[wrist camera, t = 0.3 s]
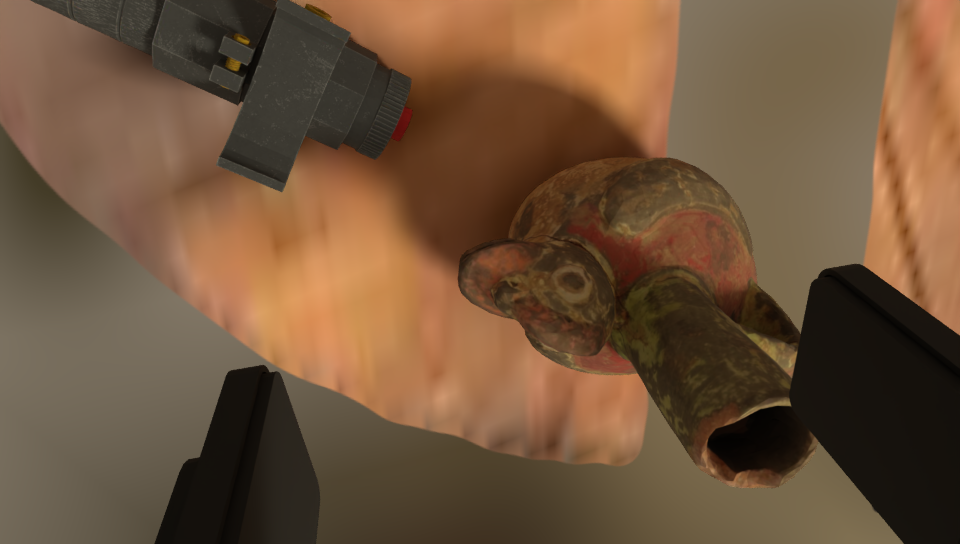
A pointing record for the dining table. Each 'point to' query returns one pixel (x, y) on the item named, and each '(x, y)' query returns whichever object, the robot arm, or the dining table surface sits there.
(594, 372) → the ceramic vessel
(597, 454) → the dining table surface
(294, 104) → the laser sight
